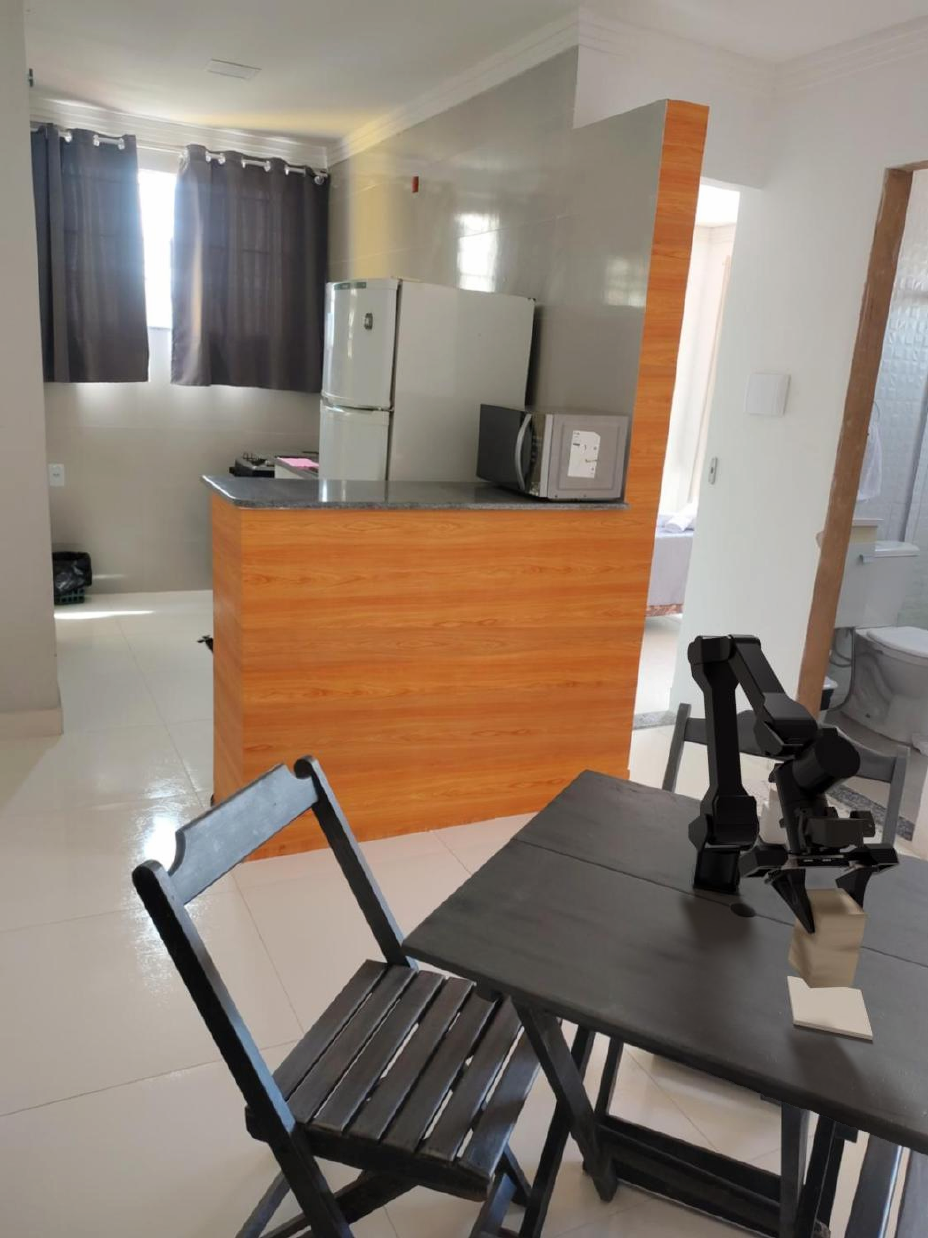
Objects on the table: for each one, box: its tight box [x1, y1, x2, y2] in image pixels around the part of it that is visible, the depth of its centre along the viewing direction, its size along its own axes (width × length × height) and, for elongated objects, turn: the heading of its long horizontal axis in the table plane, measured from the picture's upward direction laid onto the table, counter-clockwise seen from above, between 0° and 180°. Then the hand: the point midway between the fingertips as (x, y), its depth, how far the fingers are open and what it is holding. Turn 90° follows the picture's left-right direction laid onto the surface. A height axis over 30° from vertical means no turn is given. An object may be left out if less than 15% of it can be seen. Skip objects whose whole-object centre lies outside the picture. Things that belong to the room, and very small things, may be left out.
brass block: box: [787, 887, 868, 988], centre depth 114 cm, size 6×6×10 cm
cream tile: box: [786, 975, 874, 1041], centre depth 117 cm, size 9×9×1 cm
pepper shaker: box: [758, 784, 788, 845], centre depth 159 cm, size 4×4×10 cm
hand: (834, 932), depth 112 cm, fingers closed on brass block, 5 cm apart
